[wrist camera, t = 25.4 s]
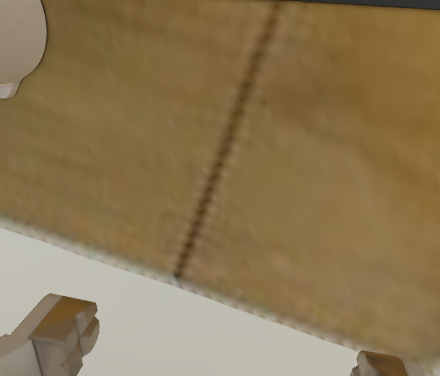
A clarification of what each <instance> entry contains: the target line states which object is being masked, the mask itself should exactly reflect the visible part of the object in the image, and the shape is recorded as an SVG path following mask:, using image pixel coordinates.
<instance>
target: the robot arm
mask: <svg viewBox="0 0 440 376" xmlns="http://www.w3.org/2000/svg"><path fill="white" fill-rule="evenodd" d="M46 36H47V30H46V20H45V15H44V10H43V7H42V4H41V1H40V0H0V98H2V99H7V98H12V97H13V96H14V95H15V94H16V92H17V89H18V87H19V84H20V82H21V81H22V79H23V78H24V77H26V76H27V75H28V74H30V73H31V72H32V71H33V70H34V69H35V68H36V67H37V65H38V64H39V62H40V60H41V58H42V56H43V53H44V50H45V45H46ZM96 312H97V306H96V303H94V302H90V301H85V300H80V299H76V298H71V297H66V296H61V295H55V294H51V293H50V294H48V295H46V296H45V297H44V298H43V299H42V300H41V301H40V302H39V303H38V304H37V305H36V307H35V308H34V309H33V310H32V311H31V312H30V313H29V315H28V316H27V317H26V318H25V319H24V320H23V321H22V322H21V323H20V325H19V326H18V327H17V328H16V329H15V330H14V331H13V332H12V334H11V335H8V334H5V335H3V336H2V337H0V376H77V374H78V372H79V371H80V369H81V367H82V366H83V363H82V357H83V356H85V355H86V354H88V353H89V352H91V350H92V348H93V347H94V345H95V343H96V340H97V337H98V334H99V320H98V319H97V318H96V317H95V316H94V315H95V314H96ZM357 362H358V366H356V367H355V368H353V369H352V372H351V375H350V376H426V375H425V372H424V370H423V368H422V366H421V364H420V363H419V362H418V361H417V360H413V359H407V358H402V357H396V356H392V355H386V354H380V353H374V352H368V351H360V352H359V354H358V356H357Z"/></svg>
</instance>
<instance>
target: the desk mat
mask: <svg viewBox="0 0 440 376" xmlns="http://www.w3.org/2000/svg"><path fill="white" fill-rule="evenodd" d="M292 1H308V2H324V3H339V4H355V5H371V6H386V7H402V8H418V9H433V10H440V0H292Z"/></svg>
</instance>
